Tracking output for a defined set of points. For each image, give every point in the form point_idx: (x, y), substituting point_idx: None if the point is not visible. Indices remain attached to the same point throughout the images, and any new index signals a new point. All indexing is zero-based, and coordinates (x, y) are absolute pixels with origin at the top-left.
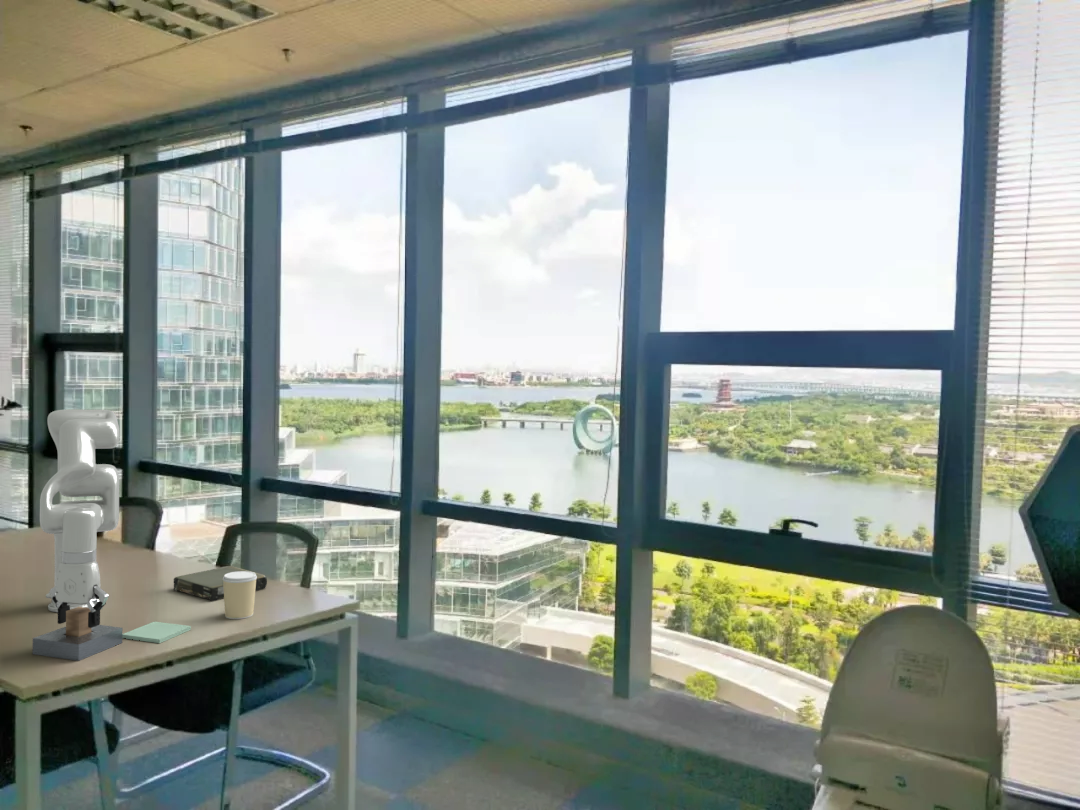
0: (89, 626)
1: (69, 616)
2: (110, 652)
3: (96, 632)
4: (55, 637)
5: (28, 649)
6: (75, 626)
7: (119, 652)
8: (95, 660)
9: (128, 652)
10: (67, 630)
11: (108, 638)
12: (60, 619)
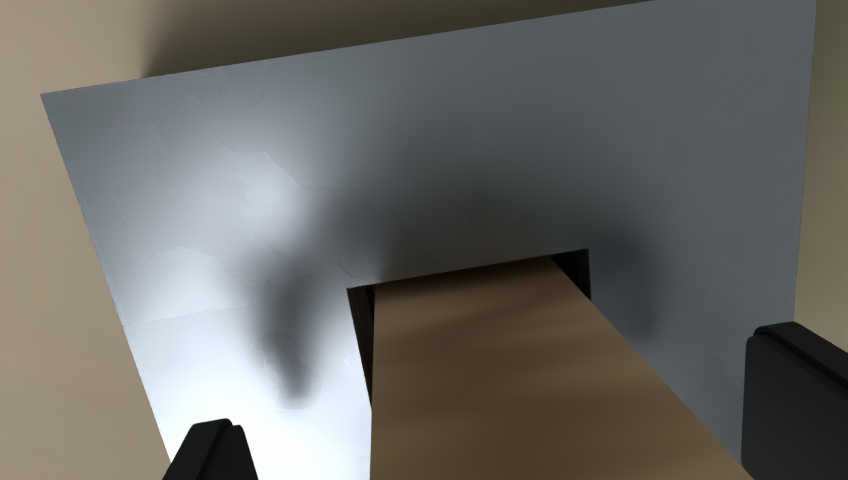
0: (196, 427)
1: (606, 426)
2: (130, 364)
3: (323, 469)
4: (574, 137)
5: (832, 75)
6: (437, 356)
7: (67, 398)
8: (22, 173)
9: (5, 432)
10: (556, 298)
11: None
12: (793, 367)
